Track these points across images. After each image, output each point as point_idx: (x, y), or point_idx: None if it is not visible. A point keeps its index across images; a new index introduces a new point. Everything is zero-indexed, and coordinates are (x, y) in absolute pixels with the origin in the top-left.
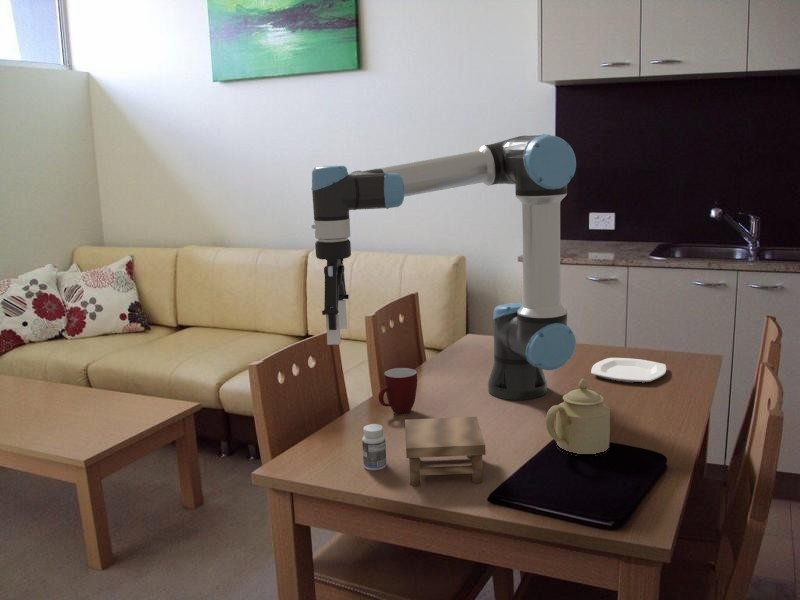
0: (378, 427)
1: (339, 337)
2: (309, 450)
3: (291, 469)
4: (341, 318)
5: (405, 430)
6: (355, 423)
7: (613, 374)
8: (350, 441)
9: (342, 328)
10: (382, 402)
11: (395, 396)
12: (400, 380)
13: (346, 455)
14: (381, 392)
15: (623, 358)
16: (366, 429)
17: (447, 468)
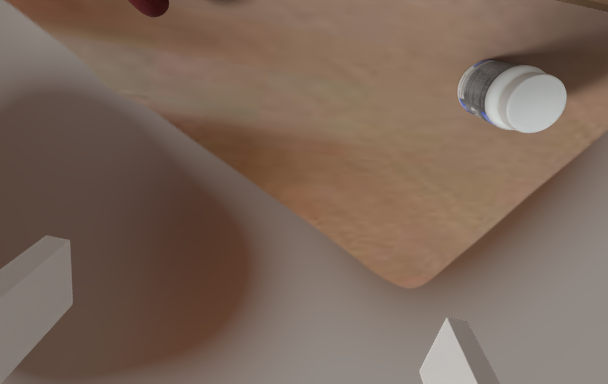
0: (544, 88)
1: (485, 359)
2: (342, 209)
3: (421, 246)
4: (15, 318)
5: (605, 3)
6: (206, 92)
7: None
8: (321, 121)
9: (68, 264)
10: (167, 6)
11: None
12: None
13: (398, 141)
14: (149, 5)
15: None
16: (541, 126)
17: None
